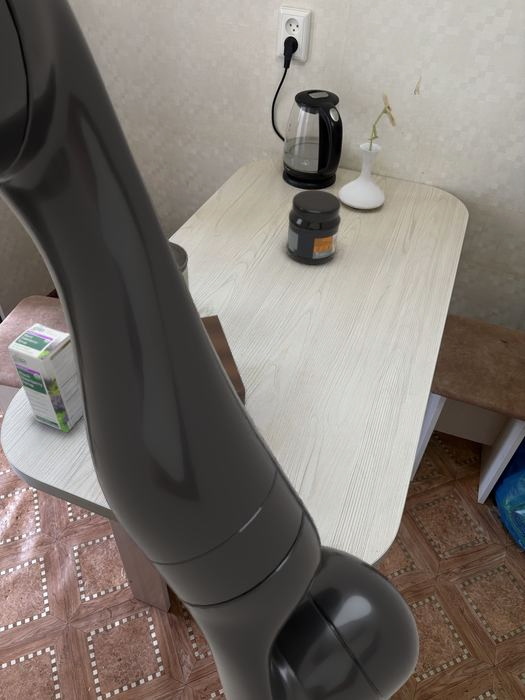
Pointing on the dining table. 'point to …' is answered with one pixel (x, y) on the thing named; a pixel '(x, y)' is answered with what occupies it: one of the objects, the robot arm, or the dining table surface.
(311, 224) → the supplement container
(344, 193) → the flower in vase
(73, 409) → the syrup box
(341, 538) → the dining table surface
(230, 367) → the cabinet
